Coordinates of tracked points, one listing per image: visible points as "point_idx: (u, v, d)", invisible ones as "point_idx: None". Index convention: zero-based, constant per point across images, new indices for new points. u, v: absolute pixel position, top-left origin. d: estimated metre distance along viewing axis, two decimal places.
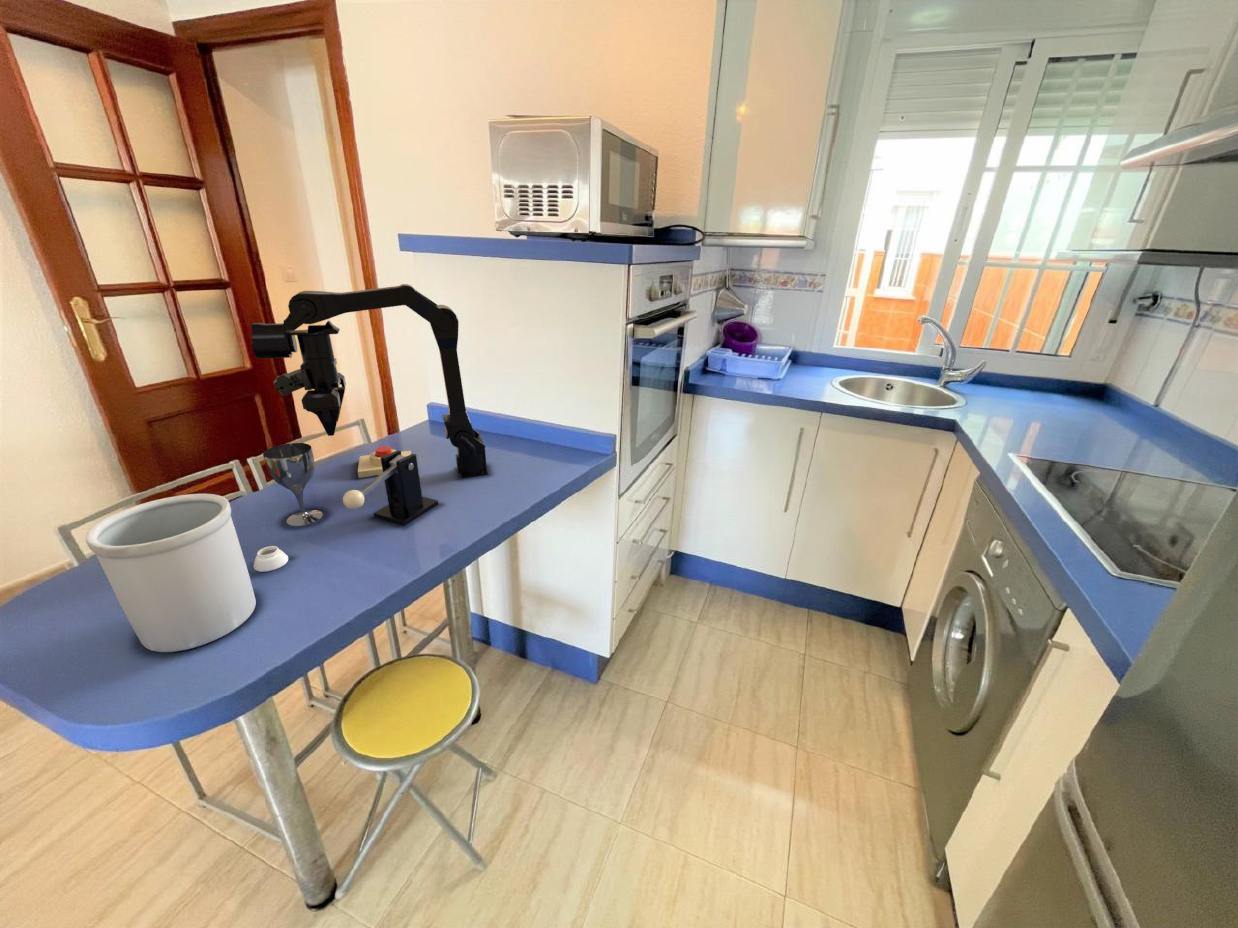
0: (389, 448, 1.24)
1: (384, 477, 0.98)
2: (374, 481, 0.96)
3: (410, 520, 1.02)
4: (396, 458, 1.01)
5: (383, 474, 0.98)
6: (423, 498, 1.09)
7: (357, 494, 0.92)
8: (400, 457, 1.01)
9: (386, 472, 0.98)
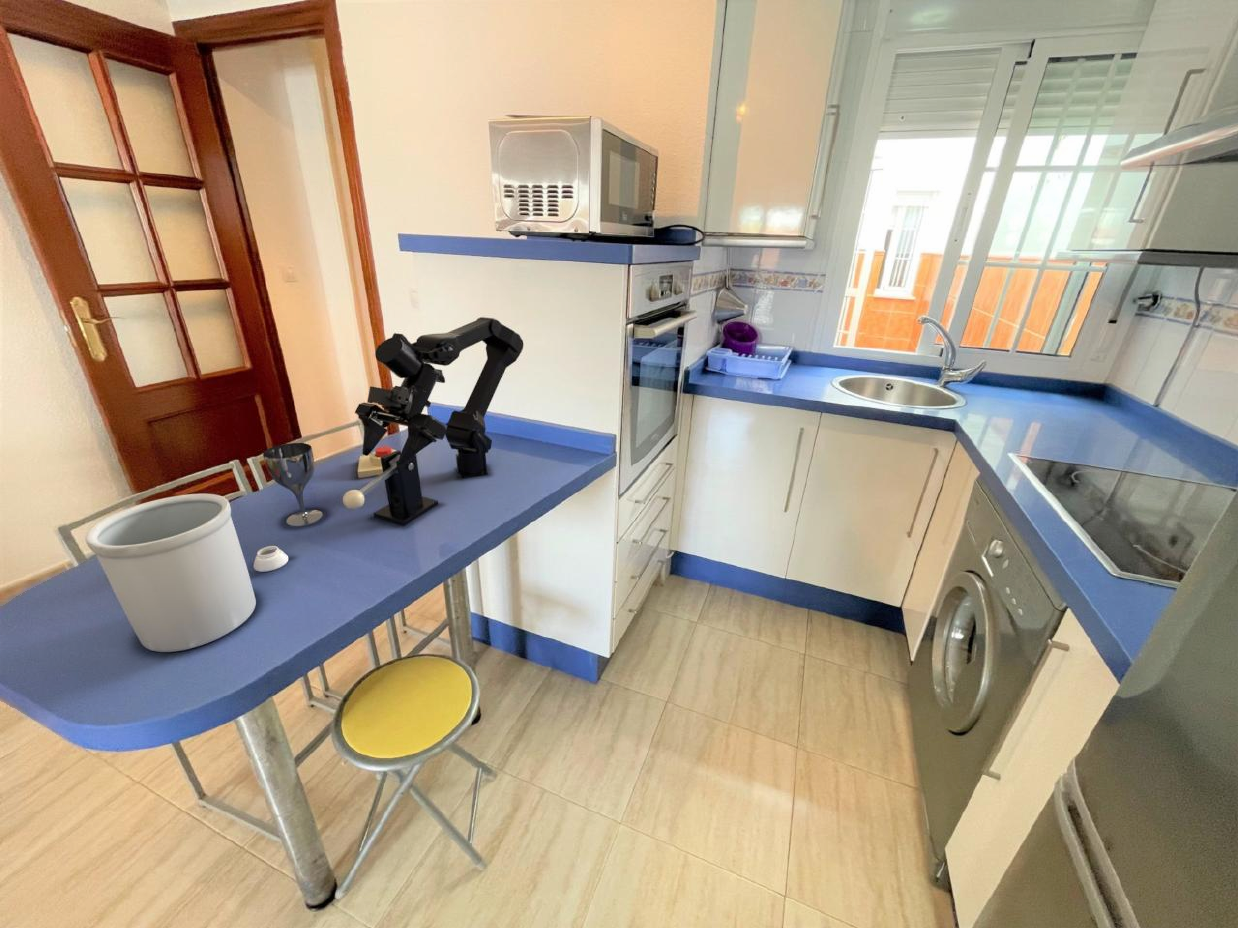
0: (389, 448, 1.24)
1: (384, 477, 0.98)
2: (374, 481, 0.96)
3: (410, 520, 1.02)
4: (396, 458, 1.01)
5: (383, 474, 0.98)
6: (423, 498, 1.09)
7: (357, 494, 0.92)
8: None
9: (386, 472, 0.98)
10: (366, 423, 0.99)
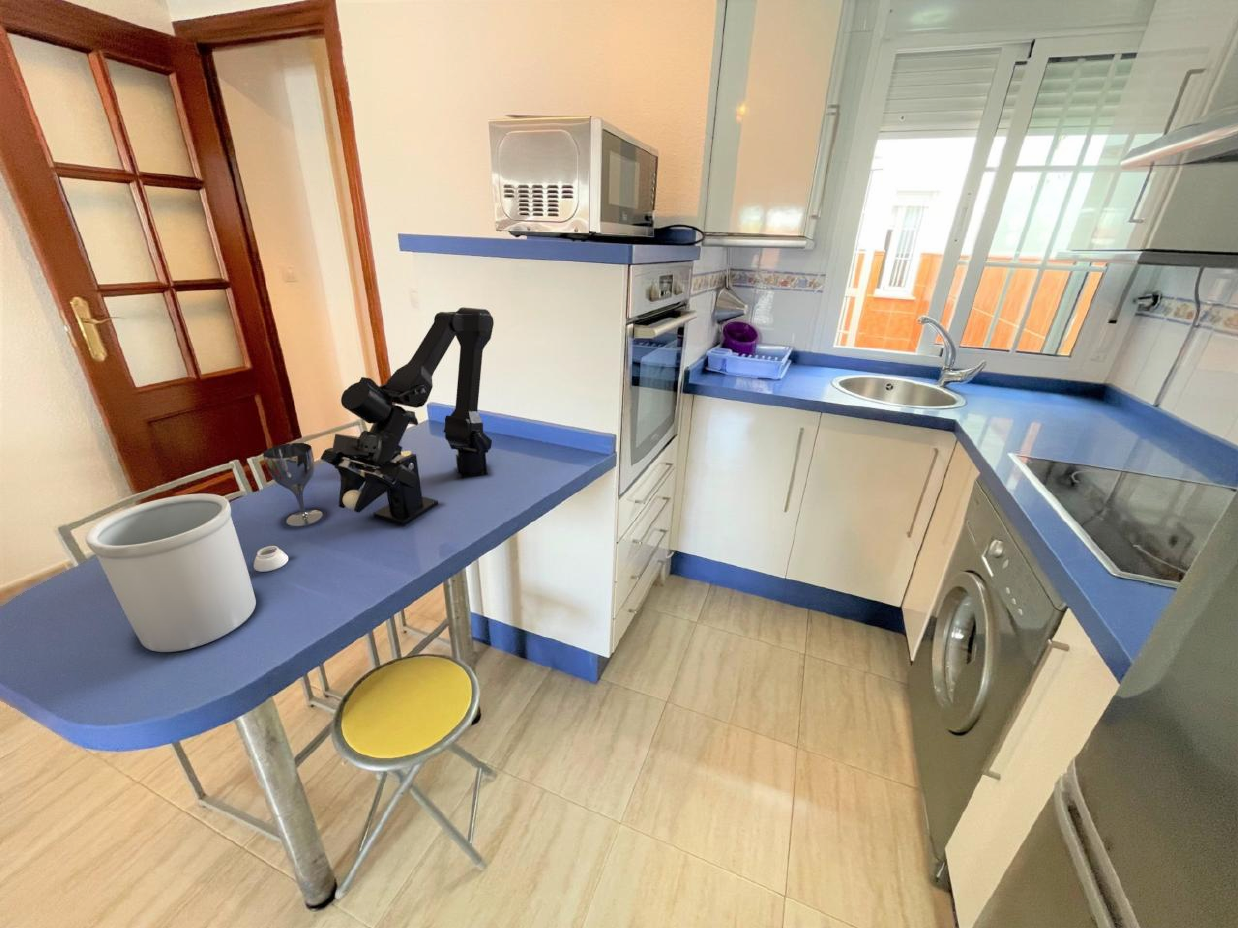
0: None
1: None
2: None
3: (410, 520, 1.02)
4: (396, 458, 1.01)
5: None
6: (423, 498, 1.09)
7: (357, 494, 0.92)
8: (400, 457, 1.01)
9: None
10: (342, 473, 0.93)
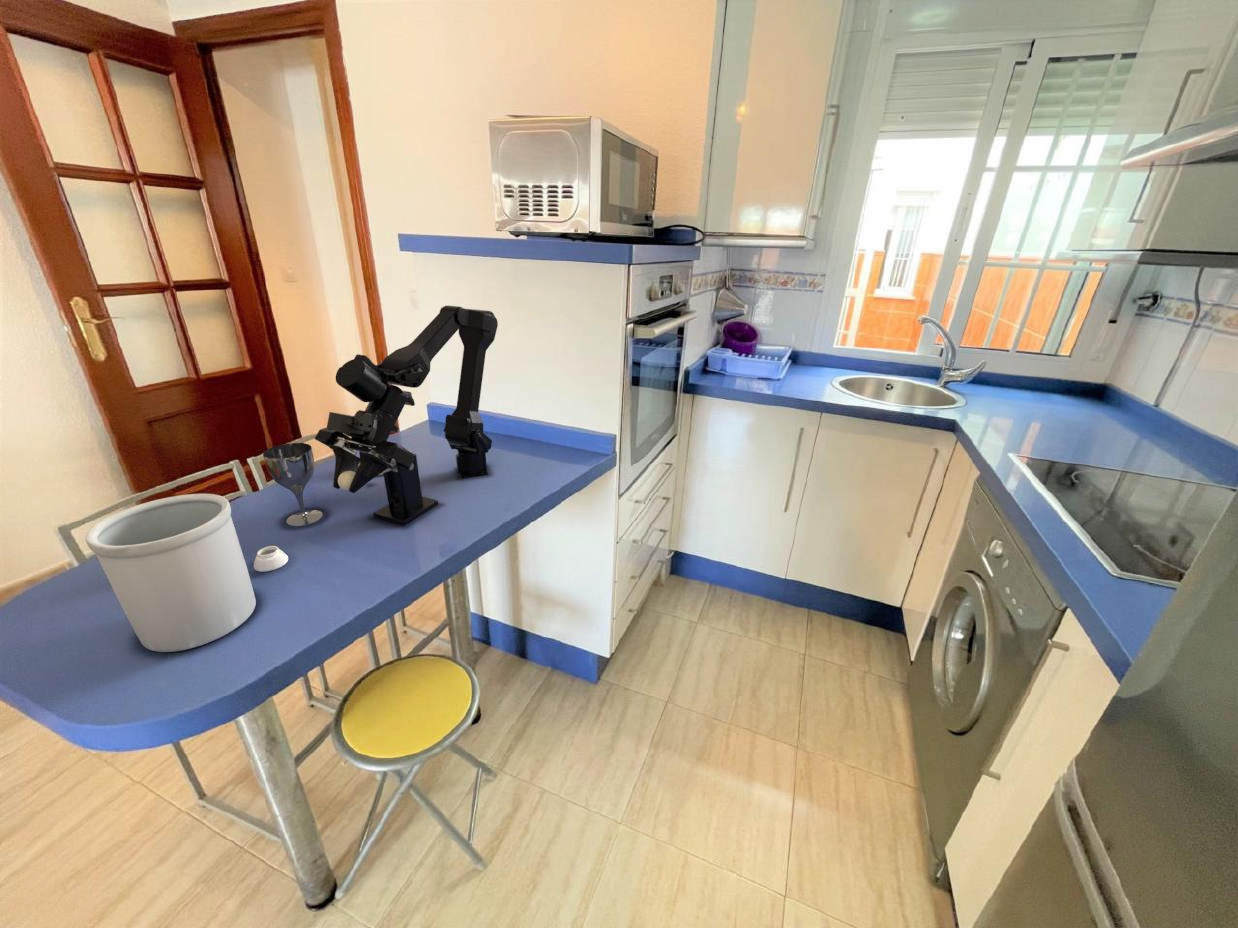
0: None
1: None
2: None
3: (410, 520, 1.02)
4: None
5: None
6: (423, 498, 1.09)
7: (354, 474, 0.90)
8: None
9: None
10: (337, 453, 0.91)
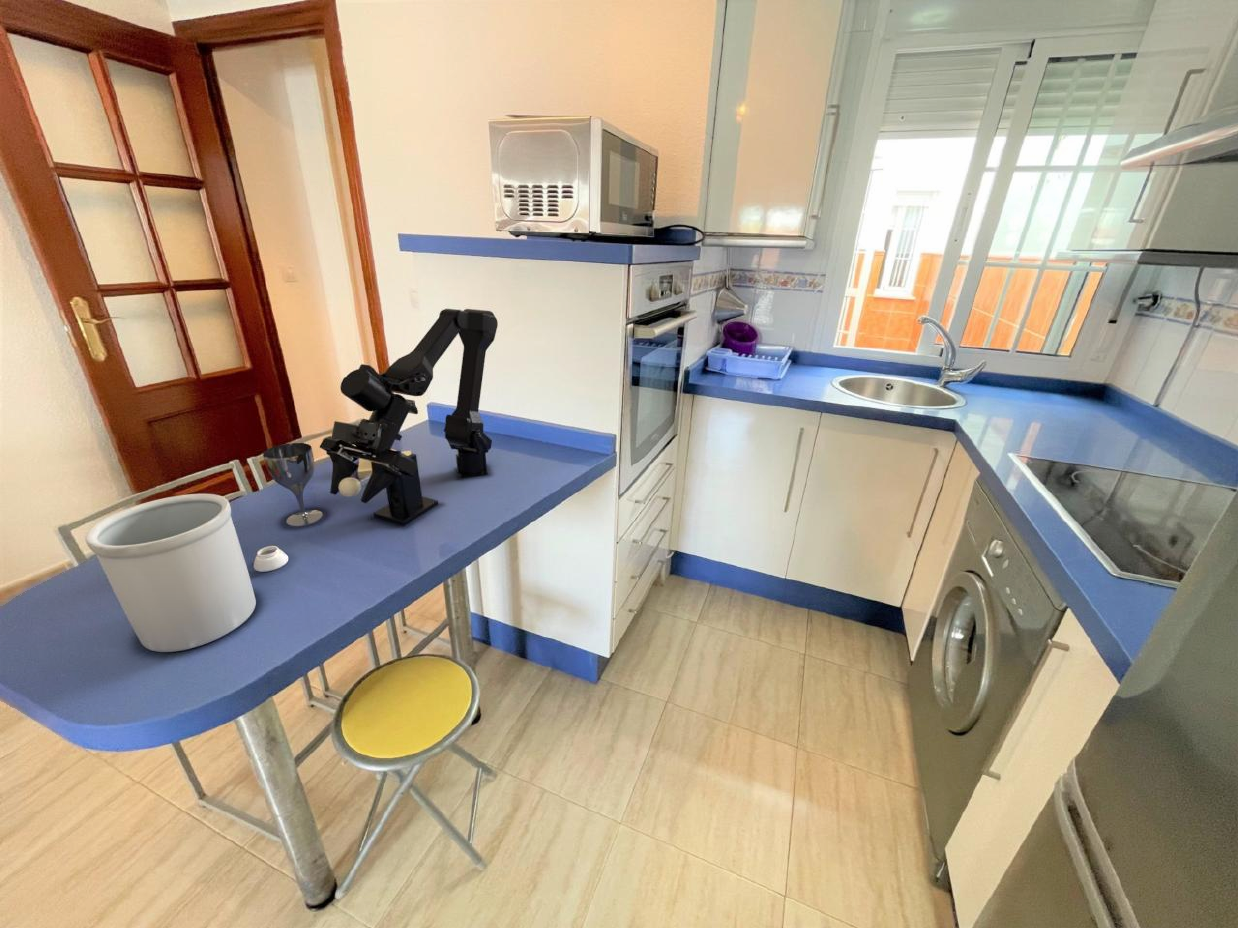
0: None
1: None
2: None
3: (410, 520, 1.02)
4: None
5: None
6: (423, 498, 1.09)
7: (354, 481, 0.91)
8: None
9: None
10: (334, 459, 0.93)
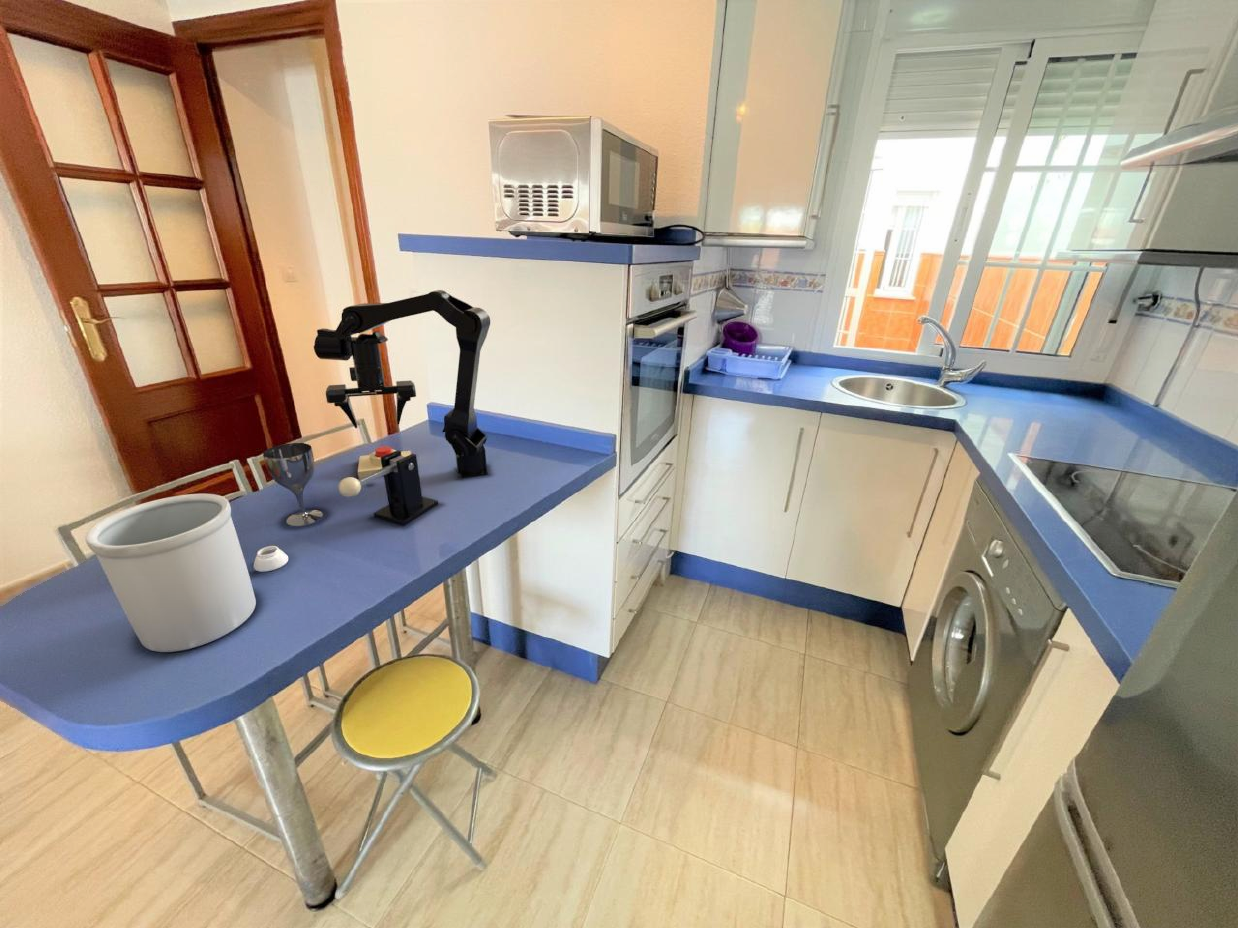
0: (389, 448, 1.24)
1: (383, 472, 0.97)
2: (373, 474, 0.95)
3: (410, 520, 1.02)
4: (397, 458, 1.01)
5: (382, 469, 0.97)
6: (423, 498, 1.09)
7: (354, 481, 0.91)
8: (401, 457, 1.02)
9: (385, 468, 0.98)
10: None
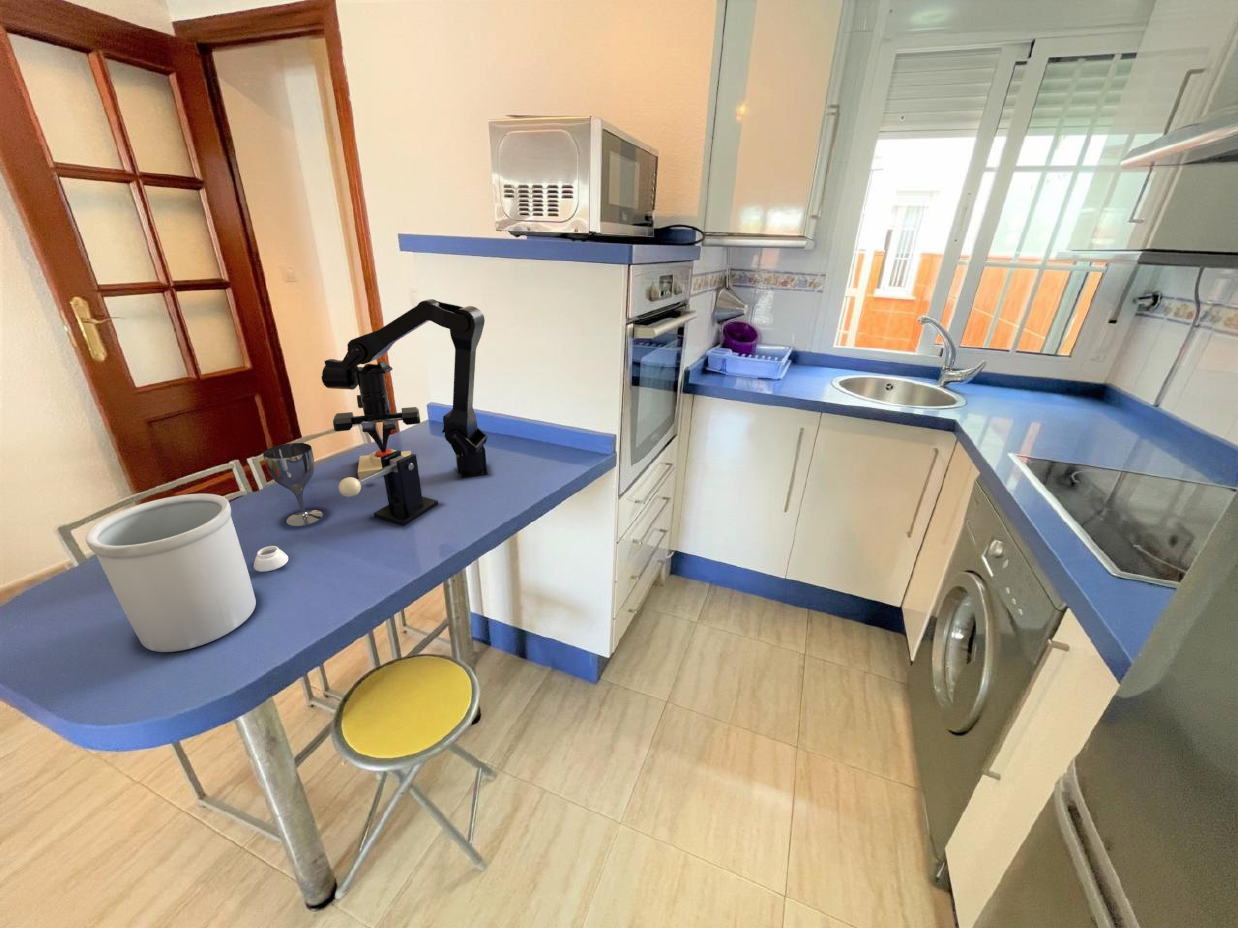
0: (389, 450, 1.25)
1: (383, 472, 0.97)
2: (373, 474, 0.95)
3: (410, 520, 1.02)
4: (397, 458, 1.01)
5: (382, 469, 0.97)
6: (423, 498, 1.09)
7: (354, 481, 0.91)
8: (401, 457, 1.02)
9: (385, 468, 0.98)
10: None
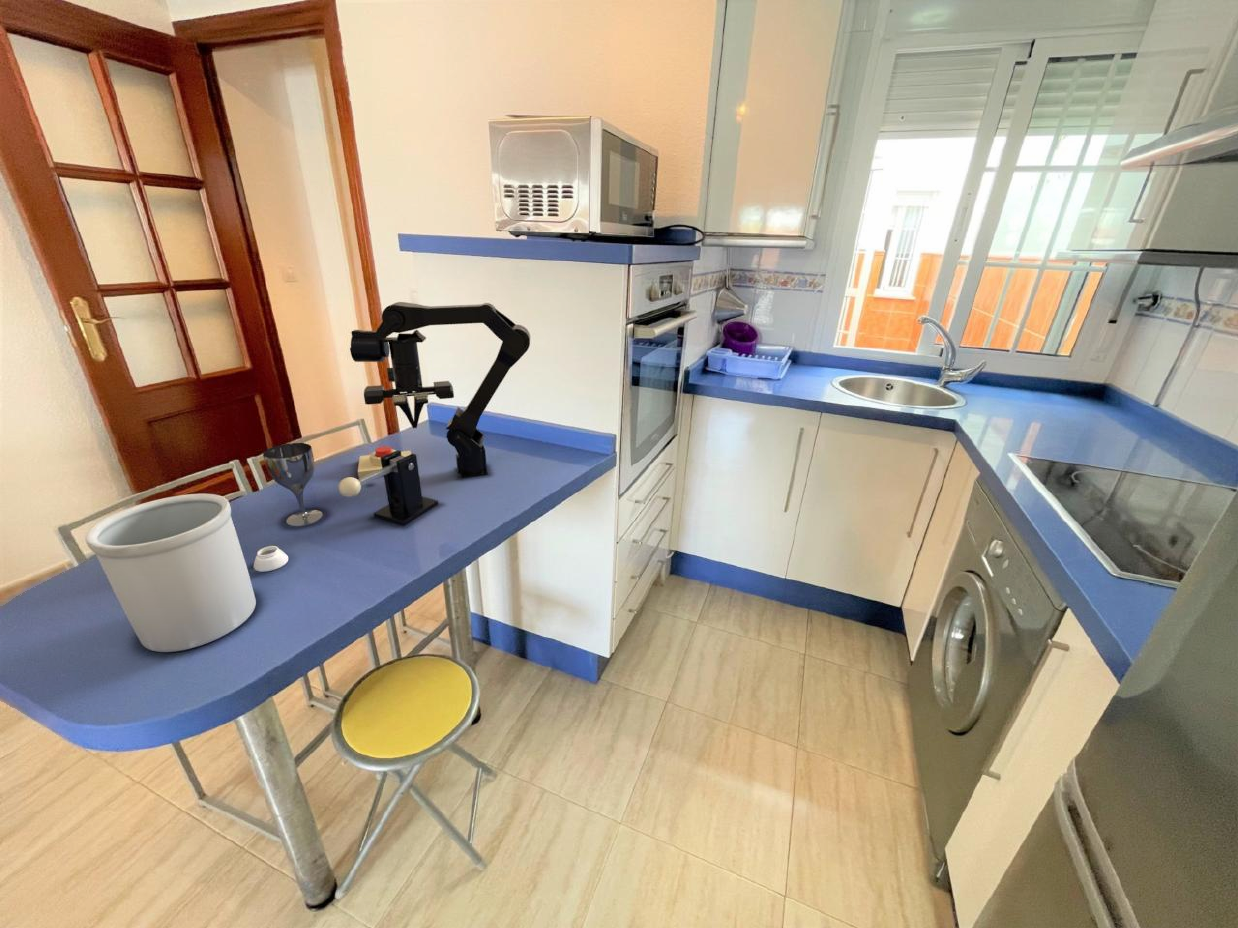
0: (389, 448, 1.24)
1: (383, 472, 0.97)
2: (373, 474, 0.95)
3: (410, 520, 1.02)
4: (397, 458, 1.01)
5: (382, 469, 0.97)
6: (423, 498, 1.09)
7: (354, 481, 0.91)
8: (401, 457, 1.02)
9: (385, 468, 0.98)
10: None
